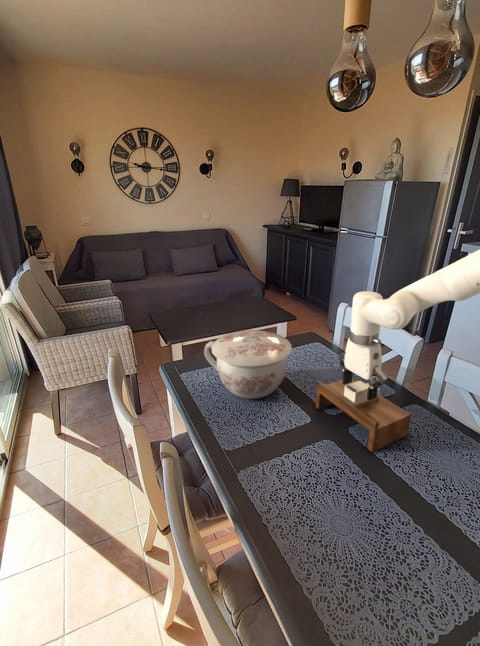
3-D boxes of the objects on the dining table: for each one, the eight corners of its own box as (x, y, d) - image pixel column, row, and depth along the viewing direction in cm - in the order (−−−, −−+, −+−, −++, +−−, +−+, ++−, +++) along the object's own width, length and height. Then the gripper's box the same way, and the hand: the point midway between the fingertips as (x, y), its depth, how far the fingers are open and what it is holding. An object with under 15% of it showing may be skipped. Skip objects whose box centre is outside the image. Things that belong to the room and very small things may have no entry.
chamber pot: (306, 393, 125) (309, 339, 117) (239, 420, 112) (237, 362, 104) (260, 361, 147) (260, 314, 139) (200, 381, 134) (196, 330, 126)
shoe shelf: (347, 395, 124) (350, 370, 120) (407, 435, 104) (412, 407, 100) (315, 407, 118) (317, 381, 114) (371, 452, 98) (376, 423, 94)
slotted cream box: (367, 392, 112) (369, 376, 109) (378, 399, 108) (381, 382, 106) (343, 401, 108) (344, 385, 105) (353, 409, 104) (355, 392, 102)
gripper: (400, 345, 93) (392, 401, 100) (351, 324, 107) (347, 374, 114) (379, 352, 90) (372, 409, 96) (332, 329, 104) (329, 381, 111)
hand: (358, 390), depth 105 cm, fingers open, 9 cm apart
